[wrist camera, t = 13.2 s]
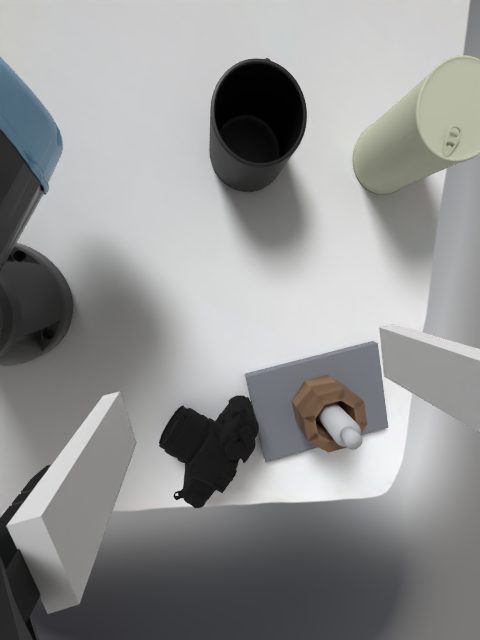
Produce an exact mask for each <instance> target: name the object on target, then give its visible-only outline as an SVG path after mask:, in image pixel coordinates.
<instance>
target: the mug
mask: <svg viewBox="0 0 480 640" xmlns="http://www.w3.org/2000/svg"><path fill="white" fill-rule="evenodd" d="M306 121H307V110H306V103H305V99H304V96H303V93H302V91H301V88H300V86H299V85H298V83H297V81H296V80H295V79H294V77H293V76H292V75H291V74H290V73H289V72H288V71H287V70H286V69H285V68H283V67H282V66H280V65H279V64H277V63H274V62H272V61H270V59H268V58H266V59H248V60H244V61H241V62H239V63H237V64H235V65H234V66H232V67H231V68H230V69H228V70H227V71H226V72H225V73H224V75H223V76H222V77H221V78H220V80H219V82H218V83H217V85H216V87H215V90H214V93H213V96H212V100H211V114H210V158H211V162H212V165H213V168H214V170H215V172H216V173H217V175H218V176H219V178H220V179H221V180H222V181H223V182H224V183H226V184H227V185H228V186H230V187H232V188H234V189H236V190H239V191H245V192H252V191H257V190H260V189H262V188H264V187H266V186H267V185H269V184H270V183H271V182H272V181H273V180H274V179H275V178H276V176H277V175H278V173H279V172H280V171H281V169H282V168H283V167H284V165H285V164H286V163H287V161H288V160H289V159H290V157H291V156H292V154H293V153H294V152H295V150H296V149H297V147H298V146H299V144H300V142H301V140H302V138H303V135H304V132H305V128H306Z"/></svg>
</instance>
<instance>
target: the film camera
mask: <svg viewBox="0 0 480 640" xmlns="http://www.w3.org/2000/svg"><path fill="white" fill-rule="evenodd" d="M258 431H259V424H258V422H257V420H256V417H255V414H254V411H253V408H252V404H251V402H250V400H249V398H248V397H247V398H246V397H245V396H239V395H238V396H235V397H233V398H231V399H230V400H229V404H228V405H227V407H226V408H225V409H224V411H223V412H222V413H221V414H220V415H219V417H218V419H217V420H216V421H213V420H212V419H210V418H209V419H208V418H207V417H205V416H204V415H200V414H199V413H197V412H196V411H194V410H193V409H191V408H189V409H186V408H185V407H184V406H181V407H180V408H179V409H178V410H176V412H175V413H174V415H173V416H172V417H171V419H170V420H169V422H168V424H167V425H166V427H165V429H164V431H163V433H162V435H161V439H160V441H159V444H160V445H159V446H160V447H161V448H163V449H164V450H165V452H166V453H168V454H169V455H171V456H174V457H176V458H178V460H179V461H181V462H183V463H185V475H184V485H183V489H182V490H181V491H178V492H175V494H176V493H178V495H179V496H175V494H174V498H175V499H176V500H178V499H180V498H184V500H185V502H187V503H189V504H190V505H192V506H193V507H195V508H201V507H203V506H204V504H205V502H206V501H207V500H208V499H209V498H210V496H211V495H212V494H213V493H214V491H215V490H217V491H219V492H221V493H223V491H224V490H225V489H226V487H227V486H228V485H229V483H230V482H231V481H232V480H233V478H234V476H235V475H236V472H237V471H236V468H237V465H238V461H239V459H241V458H242V460H243V463H245V462H246V461H247V459H248V458H249V456H250V455H251V454H252V452H253V450H254V448H255V437H256V436H257V433H258Z"/></svg>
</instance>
